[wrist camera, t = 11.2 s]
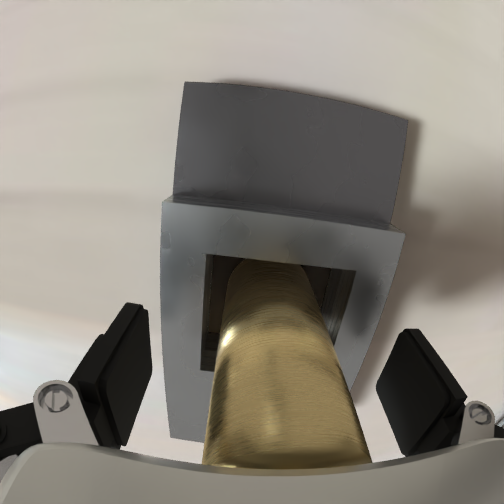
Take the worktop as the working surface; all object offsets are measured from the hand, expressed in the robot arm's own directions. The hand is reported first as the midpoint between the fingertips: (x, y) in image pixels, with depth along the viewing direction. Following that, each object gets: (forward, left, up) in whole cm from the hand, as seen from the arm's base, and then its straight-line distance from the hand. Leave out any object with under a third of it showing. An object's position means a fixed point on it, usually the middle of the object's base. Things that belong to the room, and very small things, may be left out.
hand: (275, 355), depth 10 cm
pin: (0, 0, -5) cm, 5 cm away
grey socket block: (0, 0, -5) cm, 5 cm away
